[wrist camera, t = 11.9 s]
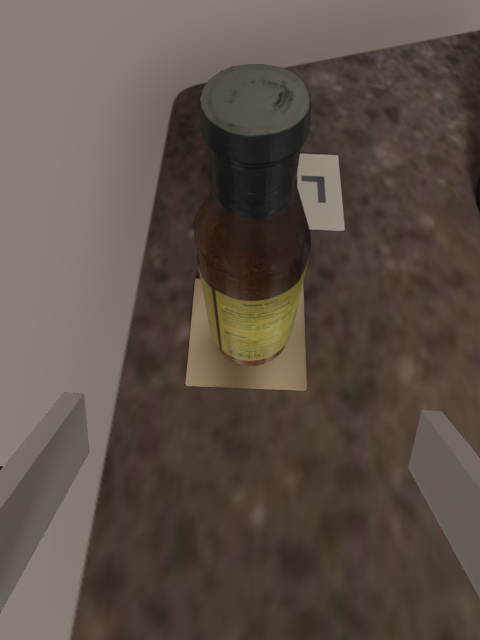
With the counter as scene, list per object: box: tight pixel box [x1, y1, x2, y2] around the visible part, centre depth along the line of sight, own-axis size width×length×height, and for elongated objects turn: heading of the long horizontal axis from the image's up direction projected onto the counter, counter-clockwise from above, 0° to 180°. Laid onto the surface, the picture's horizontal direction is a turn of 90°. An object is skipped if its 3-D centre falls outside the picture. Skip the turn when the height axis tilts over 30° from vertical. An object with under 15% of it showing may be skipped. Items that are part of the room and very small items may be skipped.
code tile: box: [297, 154, 345, 231], centre depth 39 cm, size 9×9×1 cm
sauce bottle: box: [194, 64, 311, 366], centre depth 23 cm, size 6×6×20 cm
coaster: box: [186, 279, 307, 391], centre depth 33 cm, size 9×9×1 cm
